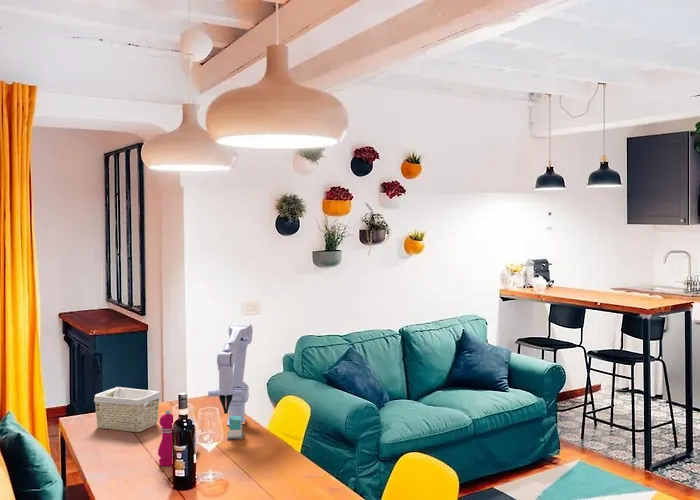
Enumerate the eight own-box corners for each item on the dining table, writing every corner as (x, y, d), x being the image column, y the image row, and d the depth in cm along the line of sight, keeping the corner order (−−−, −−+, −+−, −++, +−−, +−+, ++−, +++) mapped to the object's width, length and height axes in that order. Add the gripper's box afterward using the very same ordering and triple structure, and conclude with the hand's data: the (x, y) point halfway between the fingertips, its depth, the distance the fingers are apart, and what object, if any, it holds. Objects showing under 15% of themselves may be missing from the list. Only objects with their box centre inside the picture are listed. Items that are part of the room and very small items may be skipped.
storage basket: (92, 428, 283) (92, 394, 282) (117, 418, 298) (117, 385, 298) (138, 434, 275) (138, 400, 274) (162, 423, 290) (162, 390, 290)
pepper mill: (153, 464, 242) (153, 410, 241) (167, 458, 248) (167, 406, 247) (168, 468, 238) (168, 413, 237) (182, 462, 245) (182, 408, 244)
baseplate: (228, 434, 276) (228, 431, 276) (243, 434, 277) (243, 430, 277) (227, 440, 269) (227, 437, 269) (243, 439, 270) (243, 436, 270)
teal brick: (230, 425, 276) (230, 416, 276) (240, 425, 276) (240, 415, 276) (229, 430, 270) (229, 420, 270) (240, 429, 270) (240, 420, 270)
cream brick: (229, 432, 276) (229, 425, 276) (241, 432, 277) (241, 425, 276) (229, 437, 270) (229, 430, 270) (241, 436, 271) (241, 429, 271)
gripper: (207, 383, 269) (207, 416, 269) (243, 382, 271) (243, 415, 272) (208, 379, 276) (208, 411, 276) (243, 378, 278) (243, 410, 279)
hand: (225, 413), depth 275 cm, fingers closed
